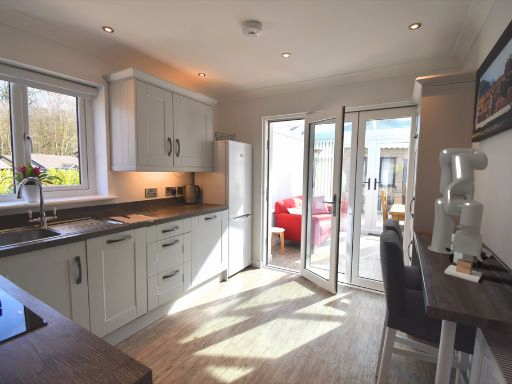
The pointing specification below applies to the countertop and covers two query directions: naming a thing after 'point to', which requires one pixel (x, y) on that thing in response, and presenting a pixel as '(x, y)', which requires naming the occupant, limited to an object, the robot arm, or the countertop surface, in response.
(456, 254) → the skincare box
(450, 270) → the chopping board
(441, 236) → the robot arm
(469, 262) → the wooden cube
